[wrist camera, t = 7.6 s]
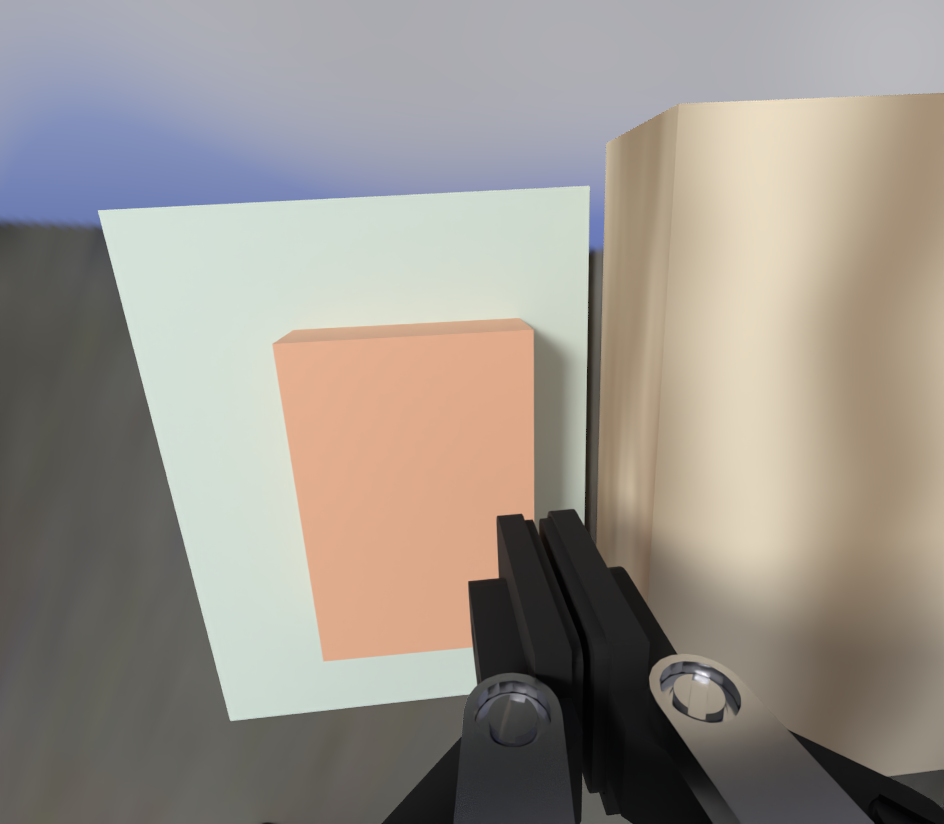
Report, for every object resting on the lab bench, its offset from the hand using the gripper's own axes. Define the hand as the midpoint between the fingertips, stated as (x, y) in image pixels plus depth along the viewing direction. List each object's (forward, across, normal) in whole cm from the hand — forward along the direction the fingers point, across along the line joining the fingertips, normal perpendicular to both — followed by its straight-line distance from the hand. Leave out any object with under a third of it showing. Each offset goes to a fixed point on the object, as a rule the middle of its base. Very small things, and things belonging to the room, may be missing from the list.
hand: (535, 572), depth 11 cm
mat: (+5, +4, 0) cm, 6 cm away
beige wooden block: (+5, -8, 0) cm, 10 cm away
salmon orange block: (+3, +2, 0) cm, 4 cm away
